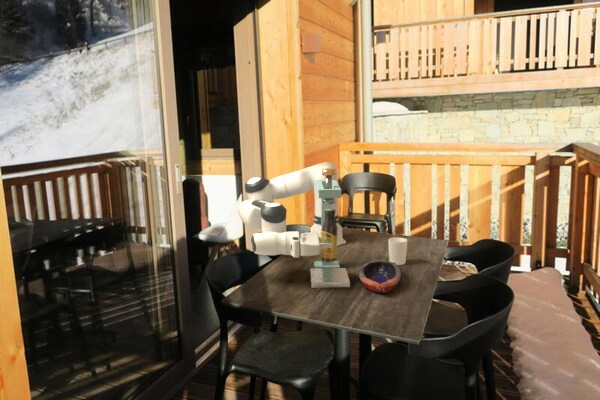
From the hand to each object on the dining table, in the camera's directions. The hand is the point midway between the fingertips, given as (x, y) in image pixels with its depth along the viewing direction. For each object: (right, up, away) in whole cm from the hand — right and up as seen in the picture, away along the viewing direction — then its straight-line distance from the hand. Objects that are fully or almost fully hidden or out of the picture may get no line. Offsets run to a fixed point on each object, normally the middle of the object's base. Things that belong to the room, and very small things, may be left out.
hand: (331, 242), depth 188 cm
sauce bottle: (-1, -7, +1) cm, 7 cm away
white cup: (+29, -11, +22) cm, 38 cm away
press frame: (-1, -13, +8) cm, 16 cm away
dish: (+18, -15, 0) cm, 24 cm away
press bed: (-1, -15, +3) cm, 15 cm away
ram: (-1, +15, -3) cm, 15 cm away
